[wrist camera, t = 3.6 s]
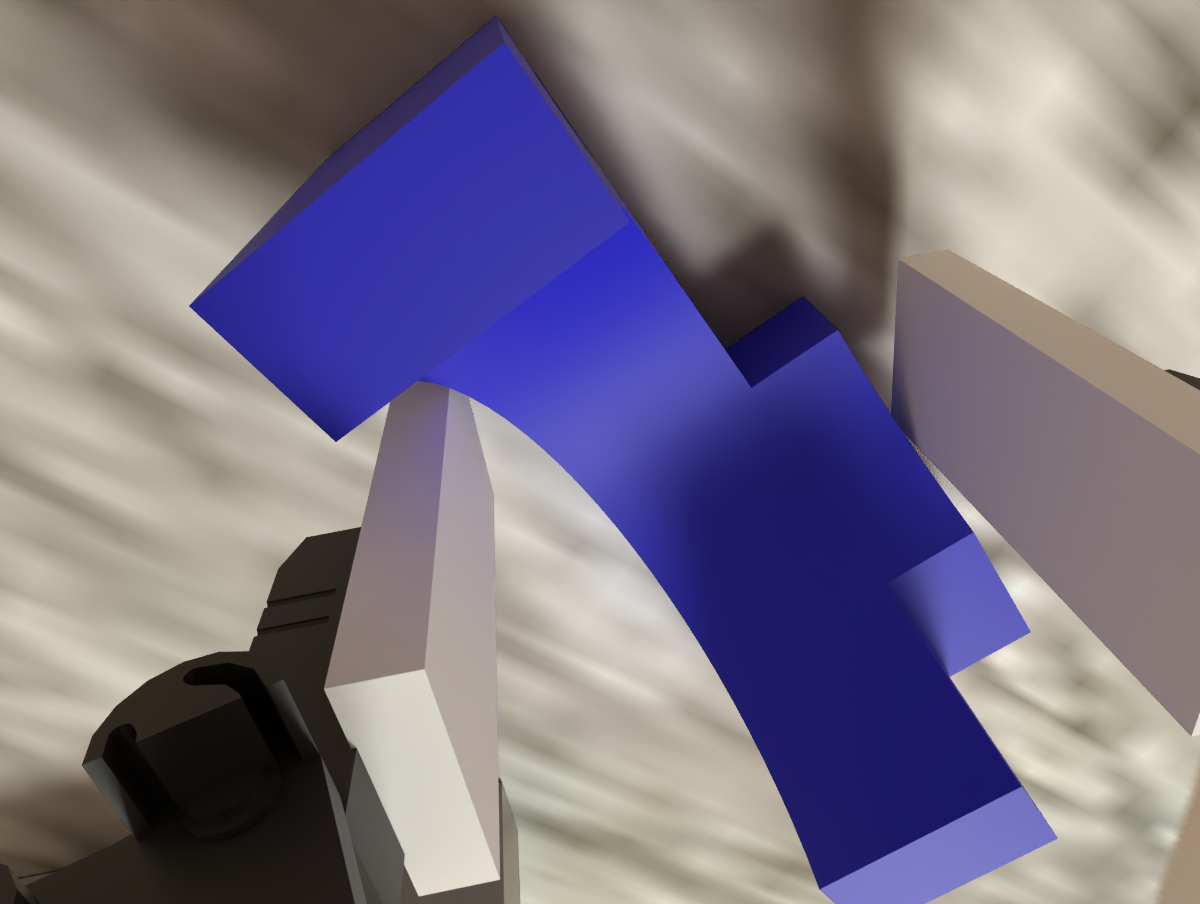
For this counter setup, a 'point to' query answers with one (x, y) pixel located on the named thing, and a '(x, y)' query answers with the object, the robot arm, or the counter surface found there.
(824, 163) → the counter surface
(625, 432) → the cable clip
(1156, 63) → the counter surface
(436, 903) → the blue panel with rails
